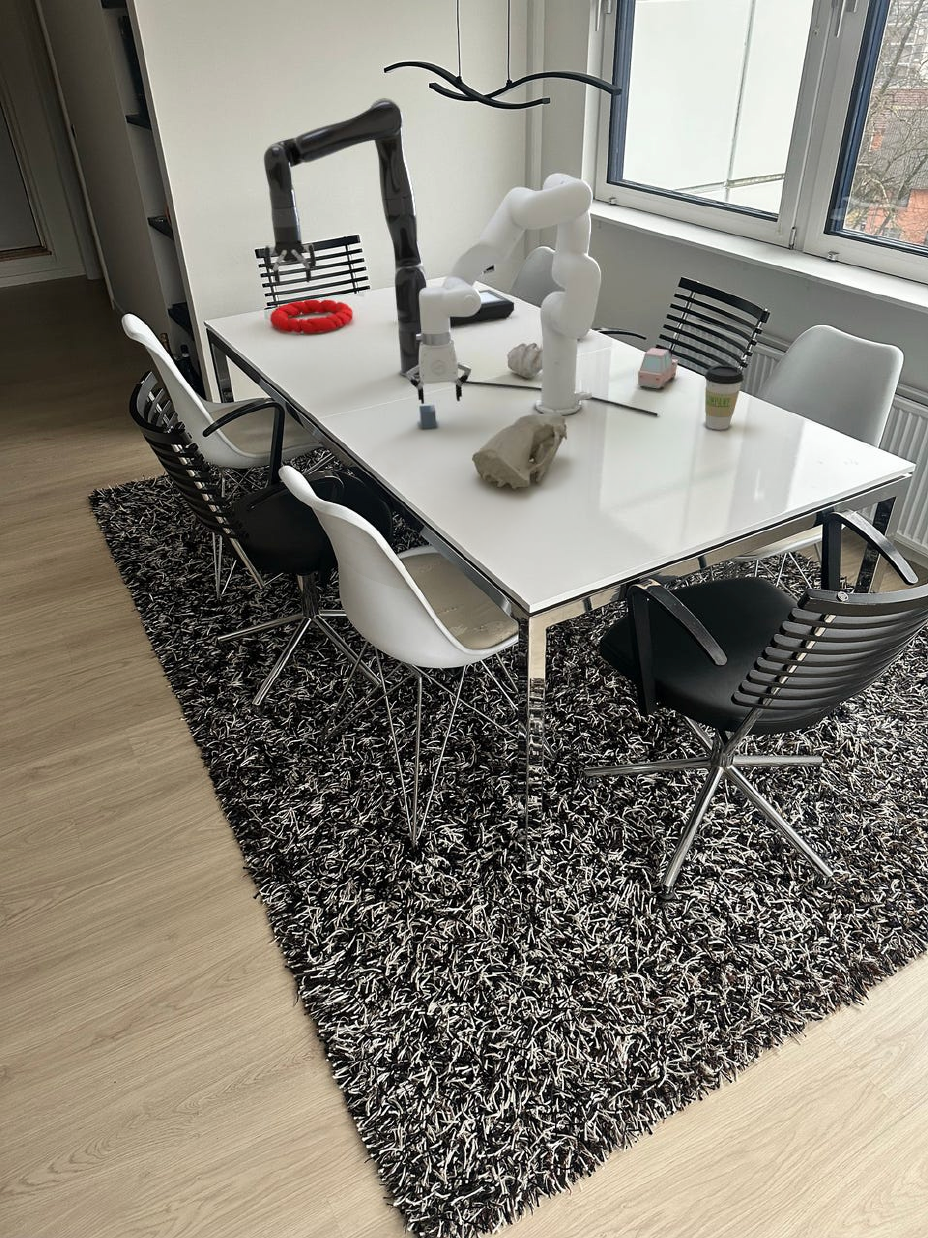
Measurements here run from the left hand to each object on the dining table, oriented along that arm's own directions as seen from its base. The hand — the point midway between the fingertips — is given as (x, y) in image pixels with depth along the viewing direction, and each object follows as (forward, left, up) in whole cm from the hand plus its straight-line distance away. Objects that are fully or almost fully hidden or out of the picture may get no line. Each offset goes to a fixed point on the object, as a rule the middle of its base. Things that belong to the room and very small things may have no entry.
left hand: (293, 282), depth 262 cm
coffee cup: (-126, -6, -29) cm, 129 cm away
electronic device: (-20, -77, -29) cm, 85 cm away
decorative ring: (+31, -53, -29) cm, 68 cm away
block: (-52, +20, -29) cm, 63 cm away
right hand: (-56, +20, -22) cm, 63 cm away
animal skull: (-88, +39, -29) cm, 101 cm away
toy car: (-103, -33, -29) cm, 112 cm away
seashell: (-64, -26, -29) cm, 75 cm away
